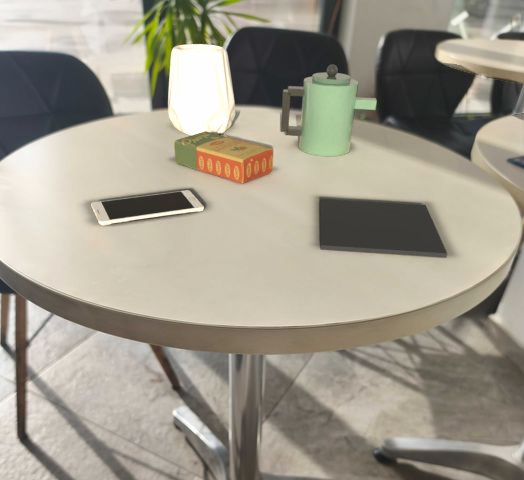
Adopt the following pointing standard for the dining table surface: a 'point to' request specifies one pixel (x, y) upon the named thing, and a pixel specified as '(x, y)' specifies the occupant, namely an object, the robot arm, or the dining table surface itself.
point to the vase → (200, 89)
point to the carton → (224, 156)
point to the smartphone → (146, 207)
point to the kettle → (325, 112)
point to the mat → (378, 228)
